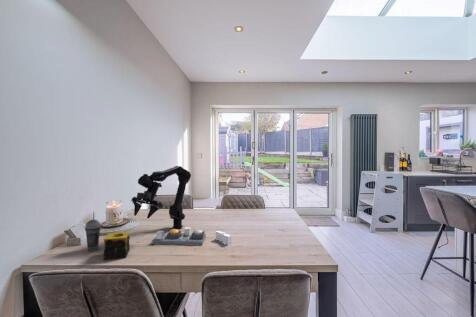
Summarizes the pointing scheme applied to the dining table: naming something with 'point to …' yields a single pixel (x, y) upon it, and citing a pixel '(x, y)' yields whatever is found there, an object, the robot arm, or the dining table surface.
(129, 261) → the dining table surface
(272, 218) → the dining table surface
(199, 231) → the button grey
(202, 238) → the control panel
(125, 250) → the black and yellow box
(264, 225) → the dining table surface
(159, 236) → the grey metal block
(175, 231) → the button amber
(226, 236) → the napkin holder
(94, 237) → the beverage cup
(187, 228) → the lever ivory
